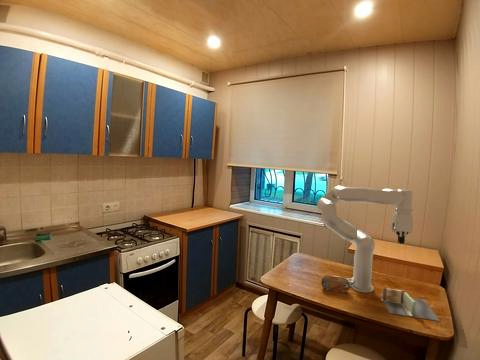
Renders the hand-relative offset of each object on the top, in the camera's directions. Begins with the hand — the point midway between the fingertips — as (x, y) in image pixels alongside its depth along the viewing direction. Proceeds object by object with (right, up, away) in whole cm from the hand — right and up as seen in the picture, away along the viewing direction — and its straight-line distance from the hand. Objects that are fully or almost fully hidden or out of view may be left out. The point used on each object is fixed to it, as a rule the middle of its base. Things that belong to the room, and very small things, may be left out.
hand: (400, 243), depth 152 cm
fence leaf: (-8, -28, -19) cm, 35 cm away
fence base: (-7, -29, -16) cm, 33 cm away
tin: (-38, -27, 0) cm, 46 cm away
